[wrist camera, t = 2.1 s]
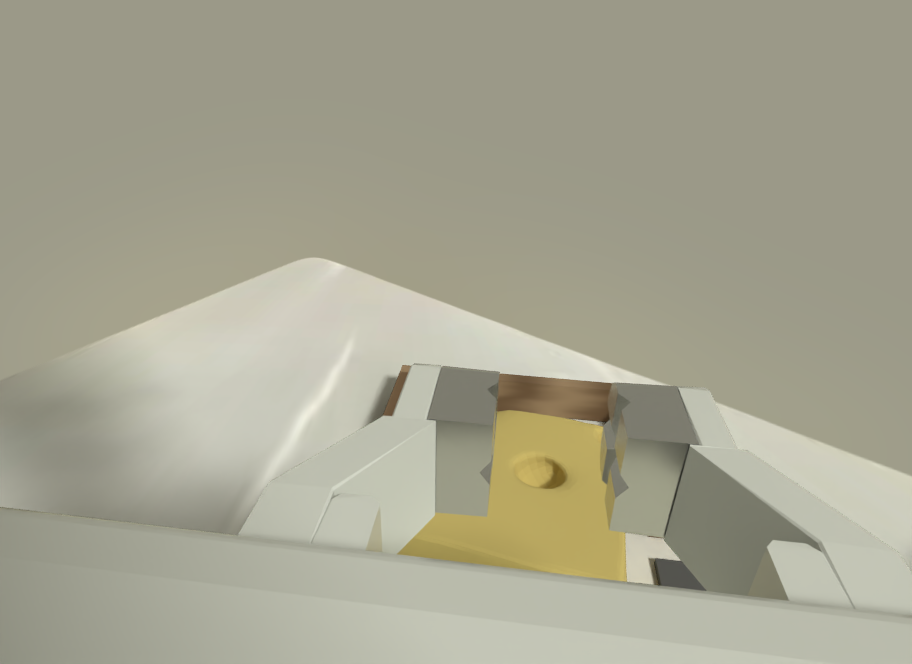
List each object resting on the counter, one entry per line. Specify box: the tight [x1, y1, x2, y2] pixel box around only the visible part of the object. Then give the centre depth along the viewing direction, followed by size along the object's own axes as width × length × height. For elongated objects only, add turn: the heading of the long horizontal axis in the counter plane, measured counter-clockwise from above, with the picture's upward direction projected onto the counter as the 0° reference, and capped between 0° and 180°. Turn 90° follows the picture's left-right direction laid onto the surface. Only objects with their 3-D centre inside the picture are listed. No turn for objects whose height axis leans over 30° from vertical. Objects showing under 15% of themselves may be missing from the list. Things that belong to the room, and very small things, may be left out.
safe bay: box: [383, 365, 661, 538], centre depth 41 cm, size 19×12×3 cm, turn 83°
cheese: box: [397, 410, 627, 582], centre depth 29 cm, size 10×11×10 cm
